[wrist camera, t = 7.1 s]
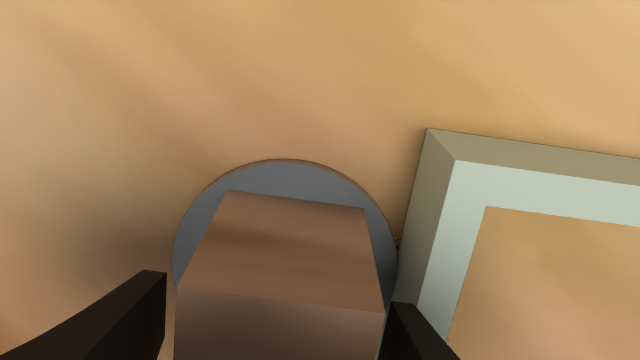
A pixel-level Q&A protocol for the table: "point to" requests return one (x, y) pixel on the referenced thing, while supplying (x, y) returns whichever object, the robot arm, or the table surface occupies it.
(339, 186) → the coaster
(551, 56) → the table surface
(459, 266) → the green rectangular frame
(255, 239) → the block
